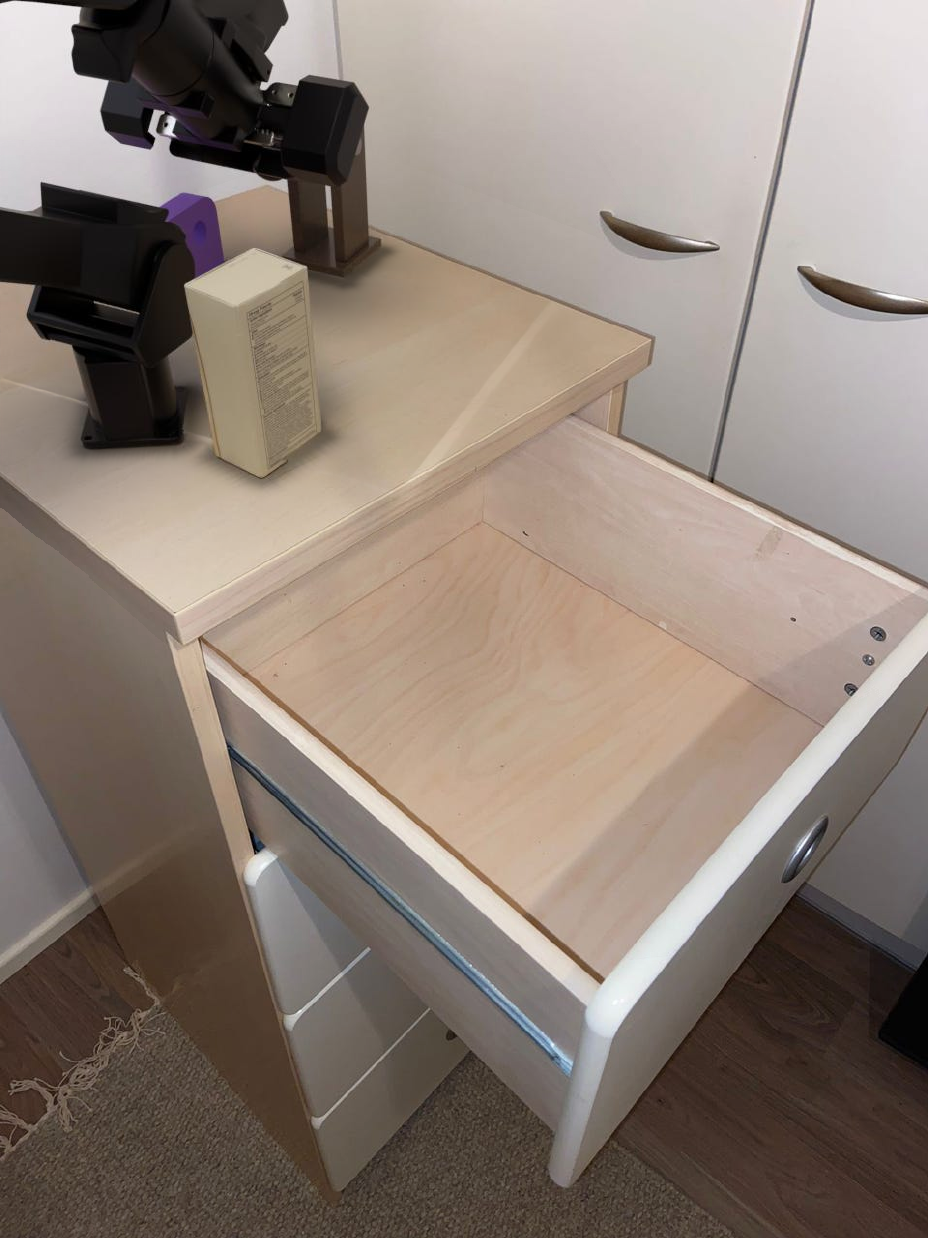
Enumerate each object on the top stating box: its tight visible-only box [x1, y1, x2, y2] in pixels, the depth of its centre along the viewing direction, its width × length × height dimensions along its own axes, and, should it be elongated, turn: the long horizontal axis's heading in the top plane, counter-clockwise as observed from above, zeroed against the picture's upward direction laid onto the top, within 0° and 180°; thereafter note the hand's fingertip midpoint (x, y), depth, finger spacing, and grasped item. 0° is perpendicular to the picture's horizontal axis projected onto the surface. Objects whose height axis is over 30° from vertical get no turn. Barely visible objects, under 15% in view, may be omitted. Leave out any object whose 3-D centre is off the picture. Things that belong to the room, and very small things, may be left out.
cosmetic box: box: [184, 247, 322, 479], centre depth 61 cm, size 6×4×12 cm
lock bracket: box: [280, 126, 382, 278], centre depth 81 cm, size 7×6×12 cm
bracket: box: [159, 192, 226, 278], centre depth 80 cm, size 12×7×7 cm, turn 69°
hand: (284, 172), depth 75 cm, fingers closed on lock lever, 3 cm apart
